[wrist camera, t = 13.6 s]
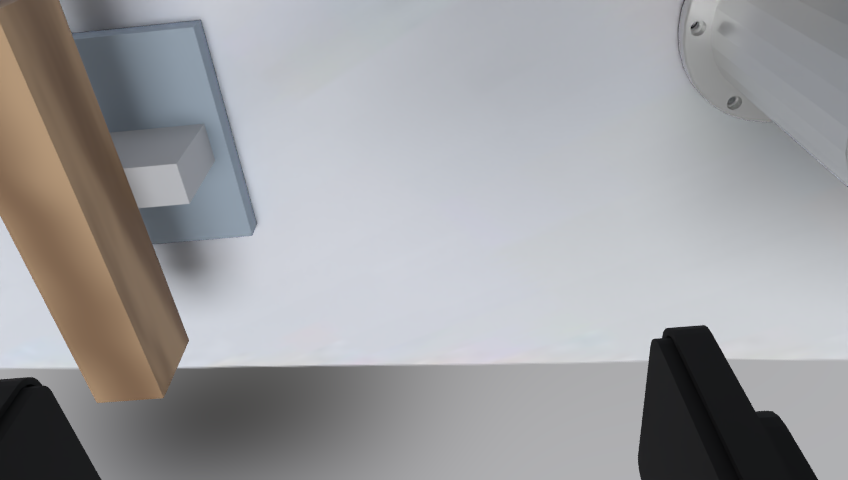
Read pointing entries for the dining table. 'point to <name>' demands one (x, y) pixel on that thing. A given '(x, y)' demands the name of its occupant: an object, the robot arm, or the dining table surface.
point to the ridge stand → (169, 129)
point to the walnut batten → (79, 212)
